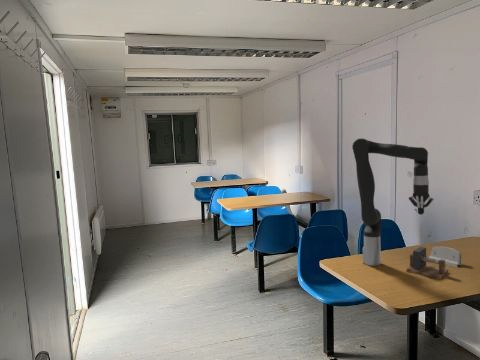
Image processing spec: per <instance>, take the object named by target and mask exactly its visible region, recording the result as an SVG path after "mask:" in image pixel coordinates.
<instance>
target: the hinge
mask: <svg viewBox="0 0 480 360" xmlns="http://www.w3.org/2000/svg"><path fill="white" fill-rule="evenodd" d="M428 258H433V259H438V260H441V259H443V260H445V266H446V265H447V266H450V267H454V268H458V266H462V253H461V252H460V251H458V250H457V249H455V248H451V247H448V246H442V245H441V246H433V247H432V248H431V251H430V254H429V257H428Z"/></svg>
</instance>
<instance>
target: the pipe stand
mask: <svg viewBox="0 0 480 360" xmlns="http://www.w3.org/2000/svg"><path fill="white" fill-rule="evenodd" d="M421 261H426V263H430V264H431V263H432V264H434V265H435V264H437V265H438V267H436V266H431V265H427V264H426V265H425V266H424V267H423V268H421V269H420V270H417V269H413V253H411V254H409V267H407V268H406V272H407V273H413V274H417V275H422V276H424V277H425V276H426V277H430V278H434V279H438V280H441V279H442V278H443V277H444V276H445V275H447V274H448V273H449V269H447V268H446V264H445V260H443V259H441V260H438V259H433V258H429V257H427V256H426V257H423V256H421Z"/></svg>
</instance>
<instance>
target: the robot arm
mask: <svg viewBox="0 0 480 360" xmlns="http://www.w3.org/2000/svg"><path fill="white" fill-rule="evenodd" d="M352 152H353V157H354V160H355V164H356V165H355V166H356V180H357V186H358V187H357V188H358V193H359V198H360V209H361V210H360V211H361V215H360V216H361V220H362V223H364V225H365V227H364V230H363V247H362V263H363V264H365V265H367V266H372V267H374V266H375V267H377V266H380V265H381V264H382V262H381V261H382V260H381V259H382V256H381V255H382V254H381V253H382V251H381V232H382V213H381V212H380V210H379V209H377V208H375V203H374V202H375V201H374V200H375V199H374V198H375V192H376V191H375V190H376V185H375V184H376V183H375V177H374V172H373V170H372V169H373V168H372V167H371V164H370V158H369V157H370V155H369V154H378V155H383V156H388V157H393V158H401V159H410V160H413V162H414V163H413V164H414V165H413V166H414V167H413V178H412V179H413V180H412V182H413V184H412V185H413V190H412V191H413V193H412V195H411V196H410V197H408V200H409V201H410V203H411V204H412V205H413V206H414V207H416V208H417V213H418V215H423V214H424V213H425V208H428V207H429V206H430V205H431V204H432V203H433V201H434V200H435V199H434V198H432V196H431V195H430V193H429V189H430V187H429V185H430V184H429V183H430V182H429V167H428V159H429V152H428V150H427V149H426V148H425V147H421V146H420V147H417V146H407V145H402V144H394V143H381V142H375V141H372V140H368V139H366V138H356V139H355V140H354V141H353V143H352Z"/></svg>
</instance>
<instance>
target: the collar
mask: <svg viewBox="0 0 480 360" xmlns="http://www.w3.org/2000/svg"><path fill="white" fill-rule="evenodd" d="M412 254H413V269H417V270H420V269H421V268H423V267H424V266H425V265H427V262H426V261H421V256H423V257H427V247H424V246H419V247H417V248H416V249H414V250H412Z"/></svg>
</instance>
